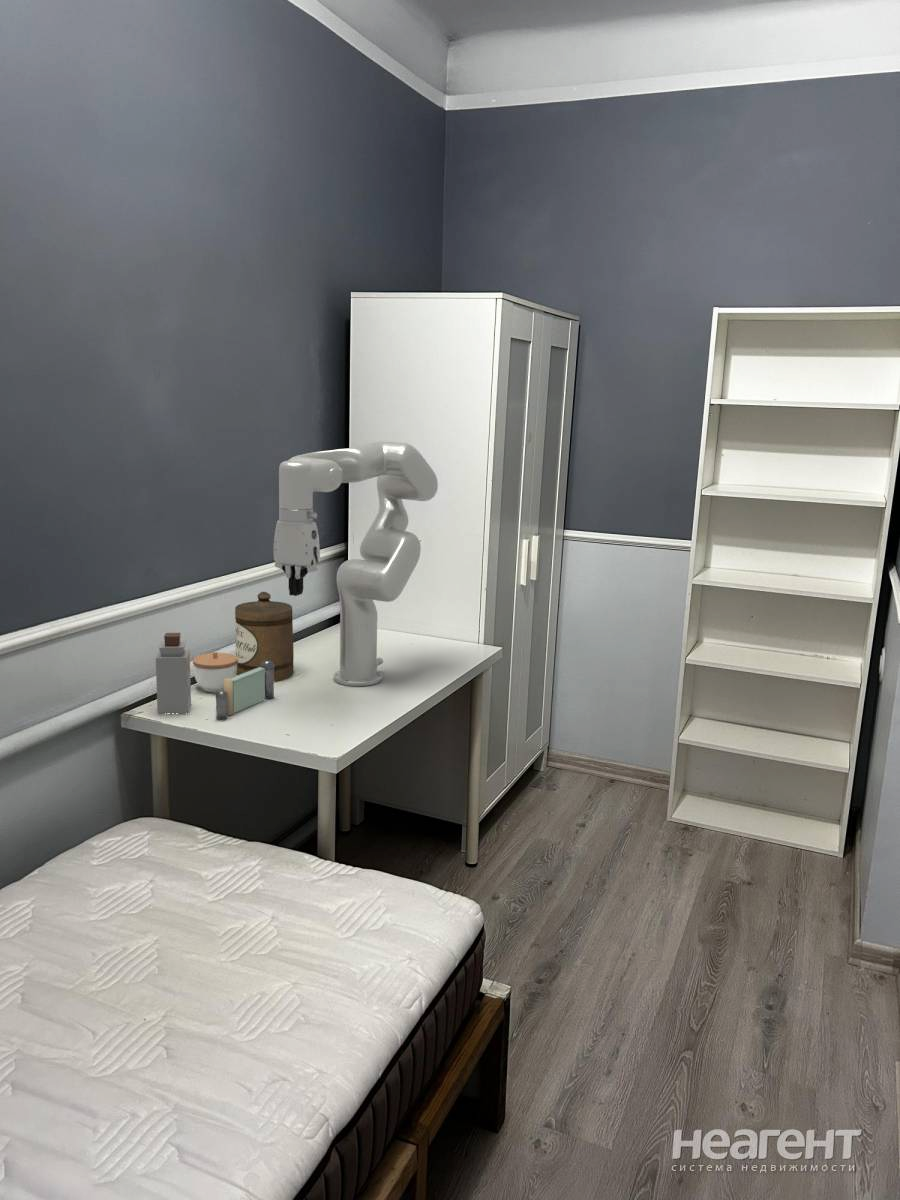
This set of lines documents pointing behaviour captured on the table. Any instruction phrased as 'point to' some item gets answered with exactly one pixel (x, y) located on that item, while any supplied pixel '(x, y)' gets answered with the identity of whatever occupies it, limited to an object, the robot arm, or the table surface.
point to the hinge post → (268, 679)
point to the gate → (245, 690)
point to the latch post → (221, 705)
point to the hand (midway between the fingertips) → (295, 594)
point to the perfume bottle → (173, 676)
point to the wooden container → (264, 636)
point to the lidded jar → (214, 670)
